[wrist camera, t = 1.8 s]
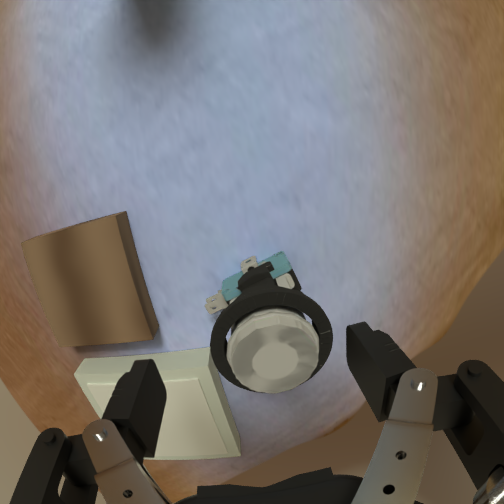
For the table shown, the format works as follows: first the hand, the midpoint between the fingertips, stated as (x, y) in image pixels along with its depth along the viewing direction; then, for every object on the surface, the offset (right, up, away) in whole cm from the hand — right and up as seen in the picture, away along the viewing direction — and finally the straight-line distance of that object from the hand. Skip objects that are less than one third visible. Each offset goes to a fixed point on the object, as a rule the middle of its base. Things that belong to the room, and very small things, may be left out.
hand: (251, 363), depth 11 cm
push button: (0, +3, +10) cm, 10 cm away
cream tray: (-8, -10, +13) cm, 18 cm away
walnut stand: (-12, +2, +9) cm, 15 cm away
